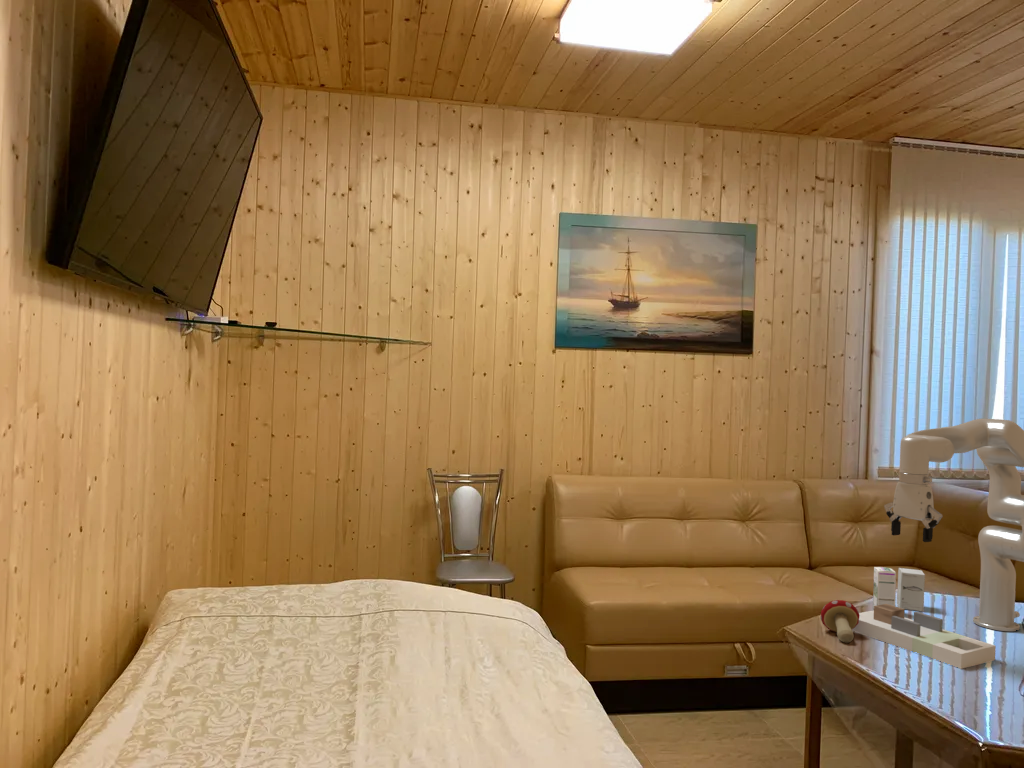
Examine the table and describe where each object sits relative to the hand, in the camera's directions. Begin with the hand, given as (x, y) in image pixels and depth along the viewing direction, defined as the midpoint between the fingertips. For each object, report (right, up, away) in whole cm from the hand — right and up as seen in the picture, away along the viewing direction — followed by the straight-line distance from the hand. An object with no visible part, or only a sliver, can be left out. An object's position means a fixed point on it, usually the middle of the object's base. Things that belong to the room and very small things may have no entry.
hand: (911, 538), depth 224 cm
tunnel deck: (+3, -31, +2) cm, 31 cm away
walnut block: (-2, -27, +10) cm, 29 cm away
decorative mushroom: (-18, -31, +6) cm, 36 cm away
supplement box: (+20, -32, +39) cm, 54 cm away
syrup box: (+8, -31, +32) cm, 46 cm away
